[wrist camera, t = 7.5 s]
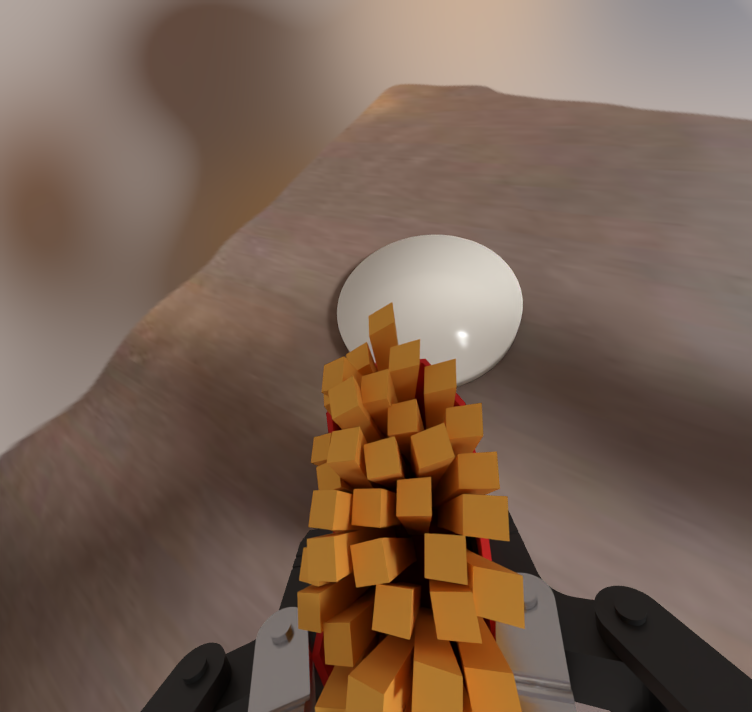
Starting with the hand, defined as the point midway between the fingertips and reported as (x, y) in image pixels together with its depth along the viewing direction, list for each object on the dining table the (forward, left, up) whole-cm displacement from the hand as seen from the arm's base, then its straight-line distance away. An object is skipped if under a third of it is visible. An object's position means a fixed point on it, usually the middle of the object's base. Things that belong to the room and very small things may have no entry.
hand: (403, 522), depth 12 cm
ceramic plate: (-4, -18, -13) cm, 23 cm away
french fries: (0, 0, -6) cm, 6 cm away
